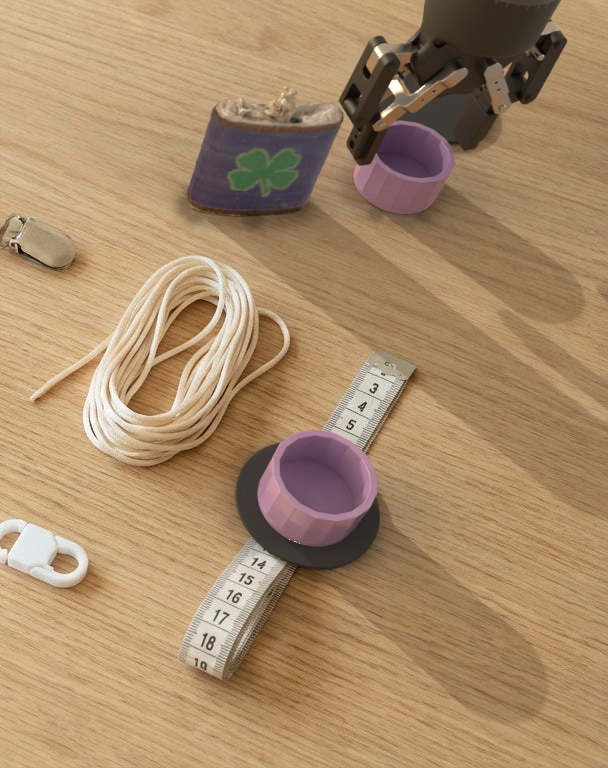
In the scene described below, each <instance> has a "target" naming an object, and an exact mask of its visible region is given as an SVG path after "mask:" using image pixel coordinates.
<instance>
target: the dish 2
mask: <svg viewBox="0 0 608 768" xmlns="http://www.w3.org/2000/svg"><path fill="white" fill-rule="evenodd" d="M387 129H388V131H387V133H386V135H385V137H384V139H383V141H382V143H381V145H380V147H379V149H378V151H377V153H376V155H375V157H374V159H373V161H372V163H371V164H370V165H363V166H359V165H358V164H357V163H356V164H355V167H354V170H353V174H352V175H353V176H352V177H353V183H354V186H355V189H356V190H357V192H358V193H359V194H360V196H362V198H364V199H365V200H366V201H367V202H368V203H370V205H372V206H374V207H375V208H378V209H379V210H381V211H382V210H383V211H384V212H387V213H391V214H397V215H414V214H419V213H421V212H424V211H425V210H427V209H429V208H430V207H431V206H433V203H434V202H435V201H436V200H437V197H438V195H439V194H440V192H441V191H442V189H443V187H444V185H445V183H446V182H447V180H448V179H449V176H450V175H451V173H452V171H453V169H454V167H455V165H456V157H455V151H454V149H453V147H452V146H451V144H449V143H448V142H447V140H446V139H445V138H444V137H442V136H441V135H440V134H439V133H437V132H436V131H435V130H433V129H431V128H429V127H426V126H424V125H421V124H419V123H415V122H408V121H395V122H393V123H392V124H391V125H390V126H388V127H387Z"/></svg>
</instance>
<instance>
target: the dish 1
mask: <svg viewBox="0 0 608 768" xmlns="http://www.w3.org/2000/svg"><path fill="white" fill-rule="evenodd" d="M279 443H280V444H279V446H278V448H277V450H276V451H275V453H274V455H273V457H272V459H271V461H270V462H269V464H268V466H267V468H266V470H265V472H264V474H263V475H262V477H261V479H260V482H259V485H258V492H257V495H258V502H259V506H260V509H261V512H262V513H263V515H264V517H265V519H266V520H267V522H268V523H269V524H270V525H271V526H272V527H273V528H274V529H275V530H276V531H277V532H278V533H280V534H281V535H282V536H284V537H286V538H287V539H290V540H291V541H293V542H294V541H296V542H297V543H300V544H302V545H306V546H313V547H322V546H329V545H332V544H335V543H338V542H340V541H341V540H343V539H345V538H346V537H347V536H348V535H349V534H350V533H351V532H352V531H353V530H354V529H355V528H356V526H357V525H358V523H359V522H360V521H361V519H362V518H363V517H364V515H365V514H366V512H367V511H368V510H369V508H370V507H371V505H372V503H373V501H374V498H375V496H376V497H377V494H378V491H379V490H378V477H377V476H378V475H377V471H376V470H375V468H374V465H373V464H372V462H371V459H370V457H369V456H368V455H367V454H366V453H365V452H364V451H363V450H362V449H361V448H360V447H359V446H357V444H355V442H353V441H351V440H349V439H348V438H345V437H344V436H341V435H339V434H338V433H335V432H332V431H326V430H320V429H308V430H303V431H298V432H294V433H293V434H291V435H289V436H288V437H286V438H285V439H283V440H282V441H281V442H279Z"/></svg>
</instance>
